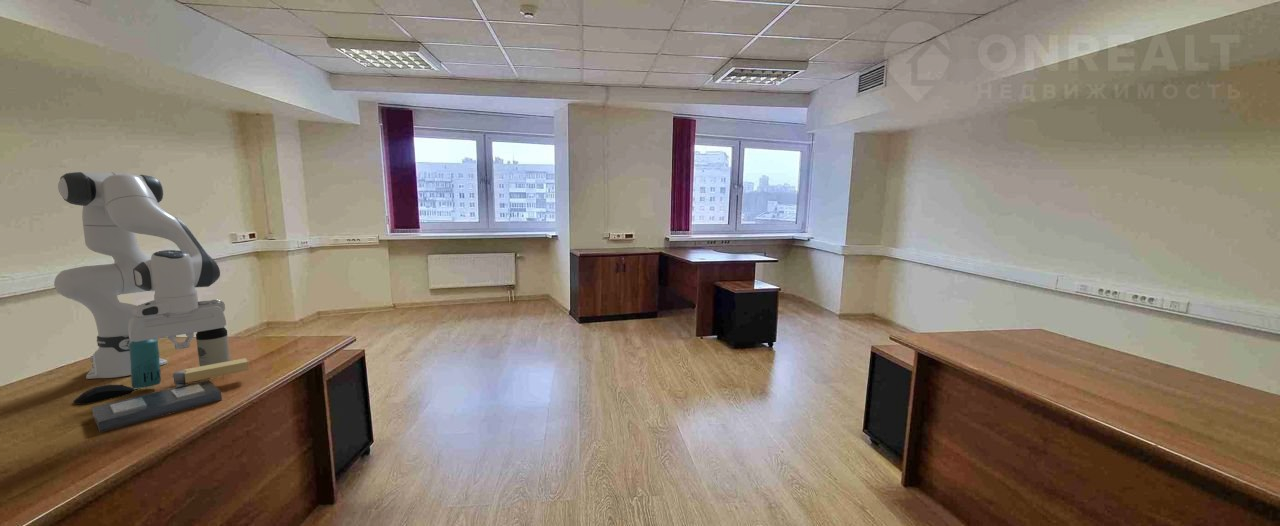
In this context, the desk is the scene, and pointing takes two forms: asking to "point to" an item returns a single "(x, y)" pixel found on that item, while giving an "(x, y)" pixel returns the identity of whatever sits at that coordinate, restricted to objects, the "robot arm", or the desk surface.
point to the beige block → (210, 371)
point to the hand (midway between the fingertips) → (182, 348)
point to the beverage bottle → (144, 363)
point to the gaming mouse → (103, 393)
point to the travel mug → (212, 346)
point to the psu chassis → (155, 404)
